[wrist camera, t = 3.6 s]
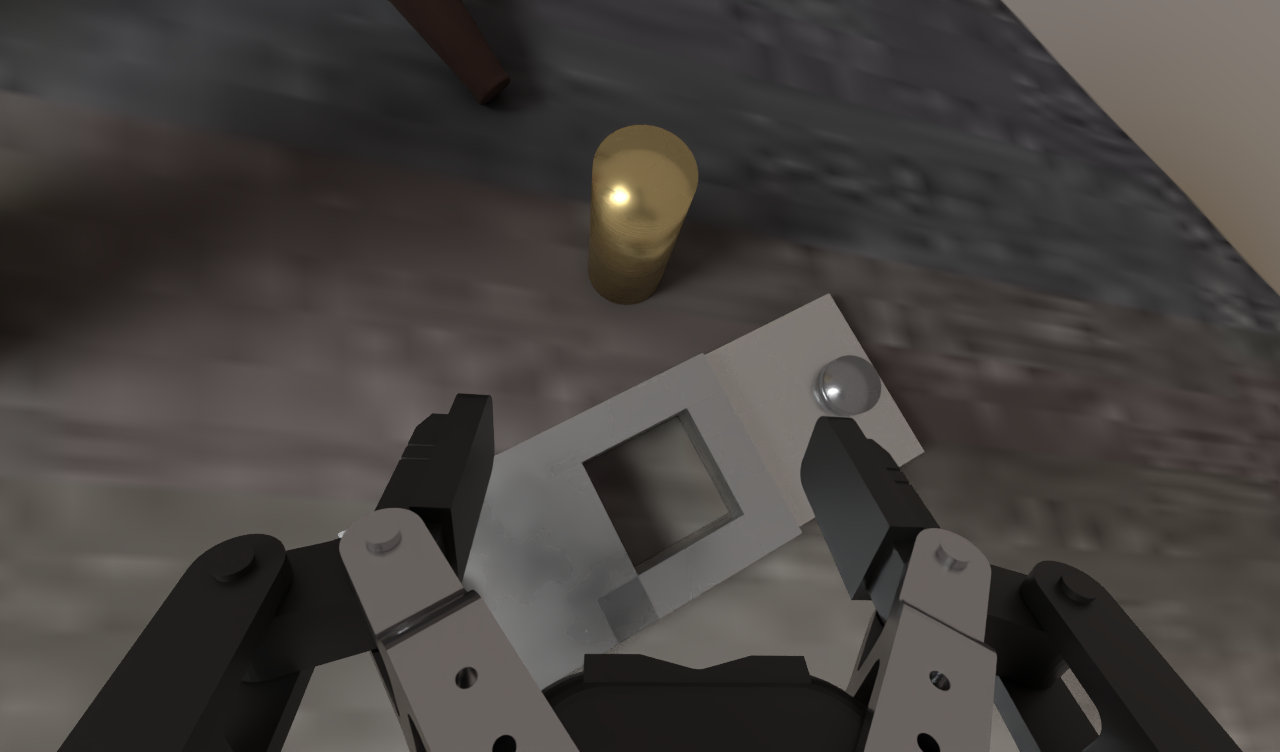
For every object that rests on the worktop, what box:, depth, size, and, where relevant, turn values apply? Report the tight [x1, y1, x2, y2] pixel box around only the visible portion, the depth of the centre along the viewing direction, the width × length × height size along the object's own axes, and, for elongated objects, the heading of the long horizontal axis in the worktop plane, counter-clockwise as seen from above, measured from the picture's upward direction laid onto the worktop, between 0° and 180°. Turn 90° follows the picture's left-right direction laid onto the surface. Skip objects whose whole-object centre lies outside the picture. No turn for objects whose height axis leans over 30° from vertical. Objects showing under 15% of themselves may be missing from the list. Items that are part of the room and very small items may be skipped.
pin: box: [588, 125, 698, 305], centre depth 24 cm, size 4×4×9 cm
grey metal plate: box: [338, 294, 924, 690], centre depth 25 cm, size 26×10×3 cm, turn 118°
